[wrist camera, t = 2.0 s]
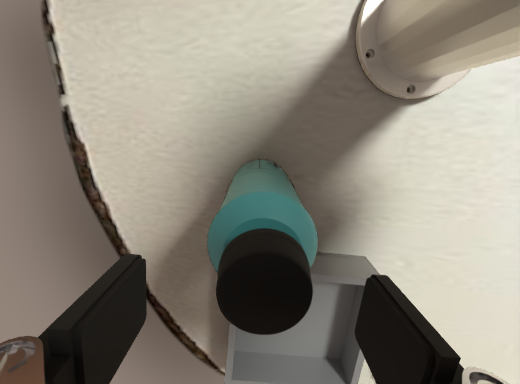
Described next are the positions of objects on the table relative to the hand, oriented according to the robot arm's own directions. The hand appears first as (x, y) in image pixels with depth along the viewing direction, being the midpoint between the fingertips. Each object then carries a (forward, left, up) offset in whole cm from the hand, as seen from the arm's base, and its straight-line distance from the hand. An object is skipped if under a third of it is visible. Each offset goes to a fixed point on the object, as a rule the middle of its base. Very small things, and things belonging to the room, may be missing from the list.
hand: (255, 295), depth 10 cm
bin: (+16, +6, -19) cm, 26 cm away
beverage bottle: (0, 0, -19) cm, 19 cm away
